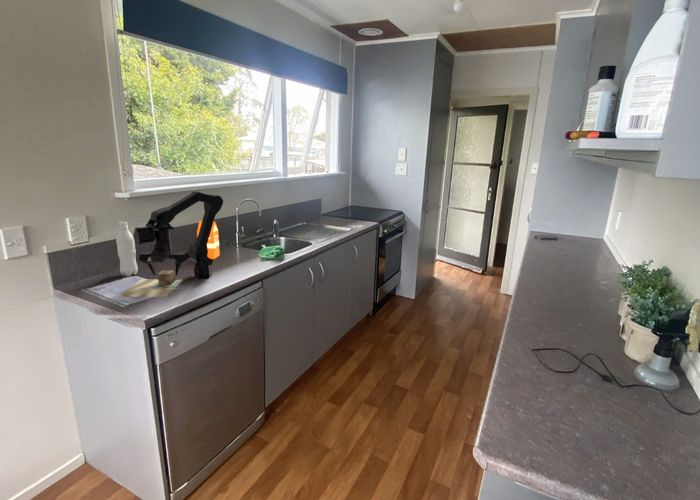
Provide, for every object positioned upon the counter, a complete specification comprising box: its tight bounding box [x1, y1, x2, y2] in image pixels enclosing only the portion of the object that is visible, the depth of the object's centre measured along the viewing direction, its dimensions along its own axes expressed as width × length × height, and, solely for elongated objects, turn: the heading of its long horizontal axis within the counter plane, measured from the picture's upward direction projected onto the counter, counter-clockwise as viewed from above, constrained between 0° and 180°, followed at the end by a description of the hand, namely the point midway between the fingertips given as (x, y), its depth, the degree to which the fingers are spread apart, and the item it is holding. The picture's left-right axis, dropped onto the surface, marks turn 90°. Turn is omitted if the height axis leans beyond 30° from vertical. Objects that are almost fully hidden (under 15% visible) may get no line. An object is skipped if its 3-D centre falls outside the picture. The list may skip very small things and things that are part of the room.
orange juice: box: [196, 220, 220, 260], centre depth 203 cm, size 8×9×20 cm
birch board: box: [118, 278, 183, 298], centre depth 157 cm, size 18×20×1 cm
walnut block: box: [157, 269, 176, 285], centre depth 161 cm, size 5×5×5 cm
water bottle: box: [115, 221, 139, 277], centre depth 170 cm, size 7×7×25 cm
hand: (166, 275), depth 161 cm, fingers open, 9 cm apart
